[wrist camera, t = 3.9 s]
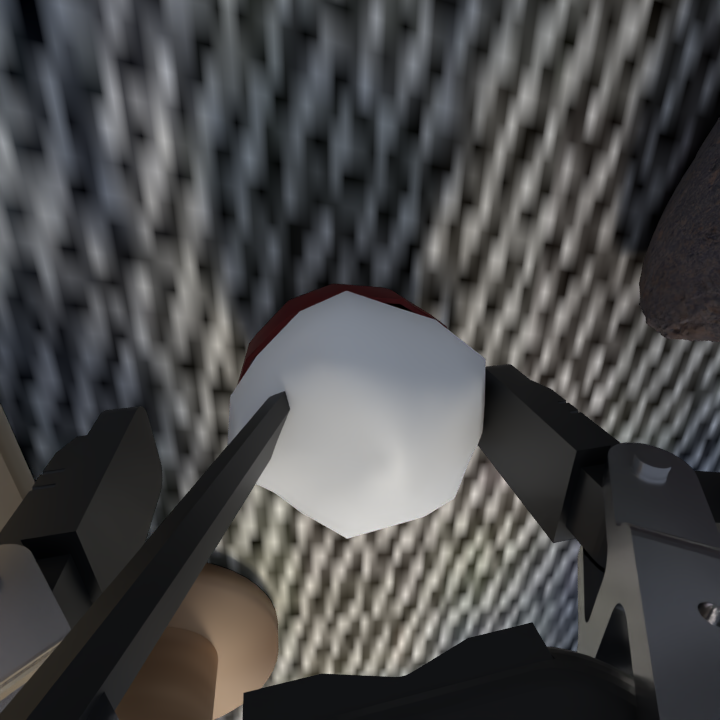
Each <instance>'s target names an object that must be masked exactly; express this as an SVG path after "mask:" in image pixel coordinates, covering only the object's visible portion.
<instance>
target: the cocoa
mask: <svg viewBox="0 0 720 720" xmlns="http://www.w3.org/2000/svg"><path fill="white" fill-rule="evenodd" d="M485 365H486V359H485V358H484V357H482V356H481V355H480V354H479V353H477V352H476V351H475V350H474V349H472V348H471V347H470V346H468V345H467V344H466V343H465V342H463V341H462V340H461V339H459V338H458V337H457V336H456V335H454V334H453V333H452V332H451V331H449V330H448V329H447V327H446V326H445V325H444V324H442V323H441V322H440V321H439V320H437V319H436V318H434V317H433V316H432V315H430V314H429V313H427V312H426V311H424V310H422V309H421V308H419V307H418V306H416V305H414V304H413V303H411V302H409V301H408V300H406V299H405V298H403V297H401V296H400V295H398V294H397V293H395V292H393V291H392V290H390V289H386V288H381V287H370V286H358V285H346V284H330V285H328V286H325V287H322V288H320V289H317V290H314V291H312V292H309V293H306V294H304V295H301V296H299V297H296V298H293V299H291V300H289V301H288V302H287V303H286V304H285V305H284V306H283V307H282V308H281V309H280V310H279V311H278V312H277V313H276V314H275V315H274V316H273V317H272V318H271V319H270V321H269V322H268V323H267V324H266V325H265V326H264V327H263V328H262V329H261V330H260V331H259V332H258V333H257V334H256V335H255V337H254V338H253V339H252V340H251V342H250V343H249V346H248V350H247V353H246V357H245V360H244V364H243V367H242V371H241V374H240V378H239V381H238V385H237V387H236V388H235V390H234V391H233V393H232V394H231V396H230V411H229V428H228V446H227V447H226V448H225V450H224V451H223V452H222V453H221V454H220V455H219V457H218V458H217V459H216V460H215V461H214V462H213V464H212V465H211V466H210V467H209V468H208V470H207V471H206V472H205V473H204V474H203V475H202V477H201V478H200V479H199V480H198V481H197V482H196V484H195V485H194V486H193V487H192V488H191V490H190V491H189V492H188V493H187V494H186V495H185V497H184V498H183V499H182V500H181V501H180V502H179V504H178V505H177V506H176V507H175V508H174V510H173V511H172V512H171V513H170V514H169V515H168V517H167V518H166V519H165V520H164V521H163V522H162V524H161V525H160V526H159V527H158V528H157V530H156V531H155V532H154V533H153V534H152V535H151V537H150V538H149V539H148V540H147V541H146V542H145V544H144V545H143V546H142V547H141V548H140V550H139V551H138V552H137V553H136V554H135V555H134V557H133V558H132V559H131V560H130V561H129V562H128V564H127V565H126V566H125V567H124V568H123V570H122V571H121V572H120V573H119V574H118V575H117V577H116V578H115V579H114V580H113V581H112V582H111V584H110V585H109V586H108V587H107V588H106V590H105V591H104V592H103V593H102V594H101V595H100V597H99V598H98V599H97V600H96V601H95V603H94V604H93V605H92V606H91V607H90V608H89V610H88V611H87V612H86V613H85V614H84V615H83V617H82V618H81V619H80V620H79V621H78V623H77V624H76V625H75V626H74V627H73V628H72V630H71V631H70V632H69V633H68V634H67V635H66V637H65V638H64V639H63V640H62V641H61V643H60V644H59V645H58V646H57V647H56V648H55V650H54V651H53V652H52V653H51V654H50V655H49V657H48V658H47V659H46V660H45V661H44V663H43V664H42V665H41V666H40V667H39V668H38V670H37V671H36V672H35V673H34V674H33V675H32V677H31V678H30V679H29V680H28V681H27V683H26V684H25V685H24V686H23V687H22V688H21V690H20V691H19V692H18V693H17V694H16V695H15V697H14V698H13V699H12V700H11V701H10V703H9V704H8V705H7V706H6V707H5V708H4V710H3V711H2V712H1V713H0V720H86V719H87V717H88V716H89V714H90V713H91V711H92V710H93V708H94V706H95V705H96V703H97V702H98V700H99V699H100V697H101V696H102V694H103V692H105V694H106V696H107V698H108V699H109V701H110V703H111V705H112V707H113V709H114V711H115V709H116V708H117V706H118V705H119V703H120V701H121V700H122V698H123V697H124V695H125V693H126V692H127V690H128V688H129V687H130V685H131V684H132V682H133V680H134V679H135V677H136V676H137V674H138V672H139V671H140V669H141V668H142V666H143V664H144V663H145V661H146V659H147V658H148V656H149V655H150V653H151V651H152V650H153V648H154V647H155V645H156V643H157V642H158V640H159V638H160V637H161V635H162V634H163V632H164V630H165V629H166V627H167V626H168V624H169V622H170V621H171V619H172V618H173V616H174V614H175V613H176V611H177V609H178V608H179V606H180V605H181V603H182V601H183V600H184V598H185V597H186V595H187V593H188V592H189V590H190V589H191V587H192V585H193V584H194V582H195V580H196V579H197V577H198V576H199V574H200V572H201V571H202V569H203V568H204V566H205V564H206V563H207V561H208V559H209V558H210V556H211V555H212V553H213V551H214V550H215V548H216V547H217V545H218V543H219V542H220V540H221V539H222V537H223V535H224V534H225V532H226V530H227V529H228V527H229V526H230V524H231V522H232V521H233V519H234V518H235V516H236V514H237V513H238V511H239V510H240V508H241V506H242V505H243V503H244V501H245V500H246V498H247V497H248V495H249V493H250V492H251V490H252V489H253V487H254V485H255V484H257V485H259V486H261V487H263V488H265V489H268V490H270V491H272V492H274V493H275V494H277V495H278V496H279V497H281V498H282V499H283V500H285V501H286V502H288V503H289V504H290V505H292V506H293V507H294V508H296V509H297V510H298V511H300V512H301V513H302V514H304V515H306V516H308V517H310V518H312V519H314V520H315V521H317V522H319V523H321V524H322V525H324V526H326V527H328V528H329V529H331V530H333V531H335V532H336V533H338V534H340V535H342V536H343V537H345V538H351V537H355V536H358V535H362V534H365V533H369V532H372V531H376V530H380V529H383V528H387V527H390V526H394V525H397V524H401V523H404V522H408V521H411V520H415V519H418V518H422V517H424V516H426V515H428V514H429V513H431V512H433V511H434V510H436V509H438V508H439V507H441V506H443V505H444V504H446V503H448V502H449V501H451V500H453V499H454V498H455V496H456V493H457V491H458V488H459V486H460V483H461V481H462V478H463V476H464V473H465V471H466V468H467V466H468V463H469V461H470V459H471V457H472V454H473V452H474V450H475V449H476V447H477V445H478V443H479V440H480V437H481V435H482V432H483V420H484V407H485Z"/></svg>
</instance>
